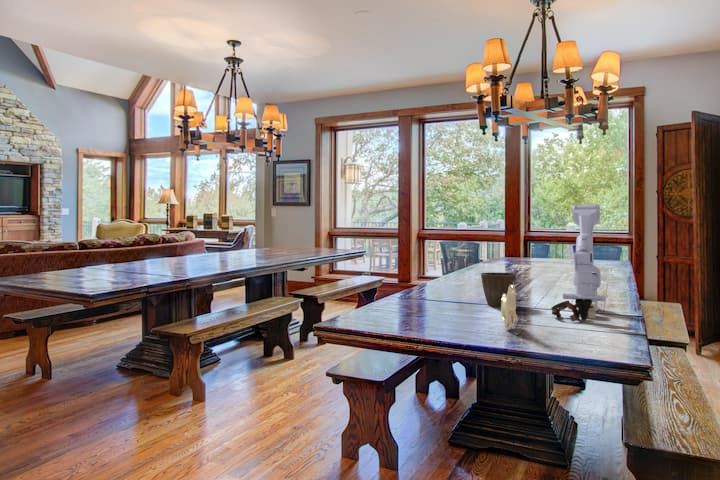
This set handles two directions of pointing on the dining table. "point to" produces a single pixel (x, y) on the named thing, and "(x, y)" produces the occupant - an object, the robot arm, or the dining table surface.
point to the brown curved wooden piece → (562, 306)
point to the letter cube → (591, 311)
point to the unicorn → (509, 306)
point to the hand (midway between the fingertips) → (583, 319)
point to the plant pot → (496, 286)
